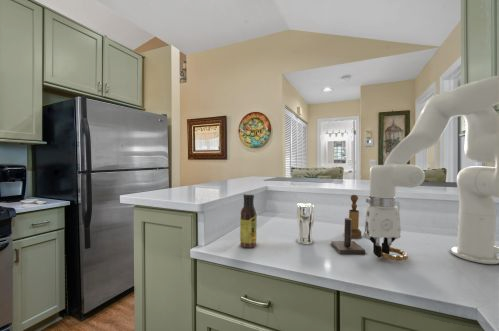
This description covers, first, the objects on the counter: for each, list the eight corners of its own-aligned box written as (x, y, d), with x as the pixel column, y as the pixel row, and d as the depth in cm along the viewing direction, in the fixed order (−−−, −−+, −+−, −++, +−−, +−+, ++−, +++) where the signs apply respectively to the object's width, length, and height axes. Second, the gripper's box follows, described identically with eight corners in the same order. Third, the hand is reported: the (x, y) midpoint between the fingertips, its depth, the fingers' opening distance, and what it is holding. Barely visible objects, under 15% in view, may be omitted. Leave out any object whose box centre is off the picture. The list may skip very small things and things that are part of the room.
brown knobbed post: (364, 238, 104) (365, 196, 103) (348, 238, 104) (349, 196, 103) (357, 233, 110) (358, 193, 109) (342, 233, 110) (344, 193, 110)
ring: (396, 250, 88) (396, 245, 88) (414, 261, 79) (414, 256, 79) (371, 250, 88) (371, 246, 88) (386, 262, 78) (386, 257, 78)
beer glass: (293, 242, 98) (294, 205, 97) (298, 237, 104) (299, 202, 103) (311, 246, 95) (312, 207, 94) (315, 240, 101) (316, 204, 100)
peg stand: (353, 244, 96) (354, 215, 96) (365, 254, 88) (366, 222, 87) (331, 244, 96) (331, 215, 96) (340, 254, 87) (341, 222, 87)
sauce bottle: (254, 249, 91) (255, 196, 90) (238, 247, 92) (238, 195, 91) (257, 243, 98) (258, 193, 97) (242, 241, 99) (242, 192, 98)
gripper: (364, 204, 78) (363, 261, 79) (413, 203, 79) (411, 260, 80) (353, 200, 86) (353, 252, 87) (398, 199, 86) (397, 251, 87)
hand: (381, 255), depth 83 cm, fingers closed on ring, 2 cm apart
